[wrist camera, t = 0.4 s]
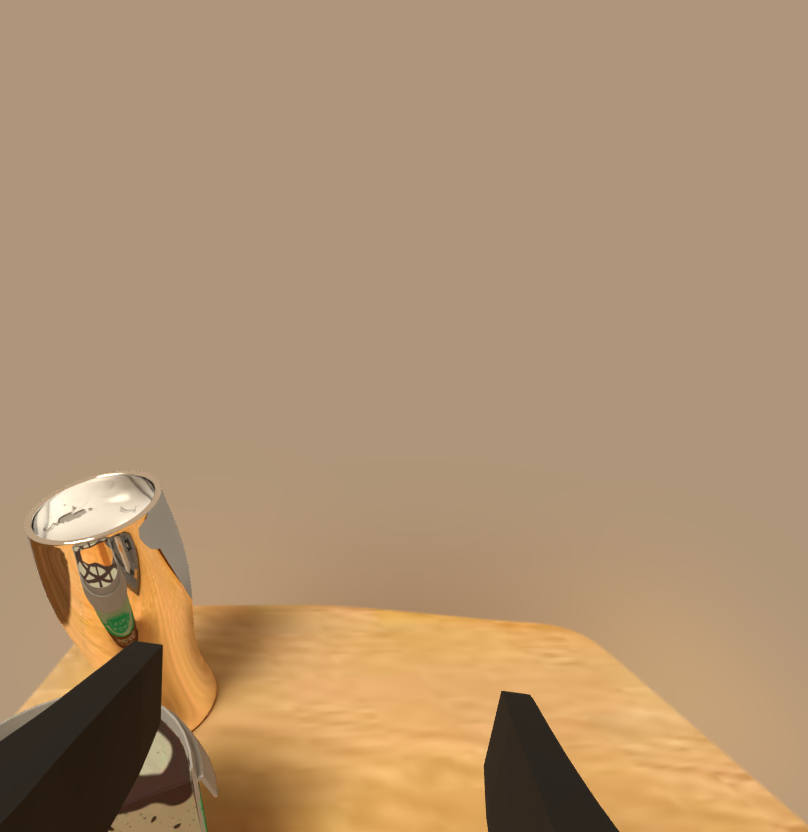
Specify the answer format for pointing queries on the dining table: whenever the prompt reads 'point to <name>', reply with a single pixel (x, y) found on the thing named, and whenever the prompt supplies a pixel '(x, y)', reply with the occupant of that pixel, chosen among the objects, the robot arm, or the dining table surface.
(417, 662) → the dining table surface
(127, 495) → the beer glass
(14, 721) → the food container
